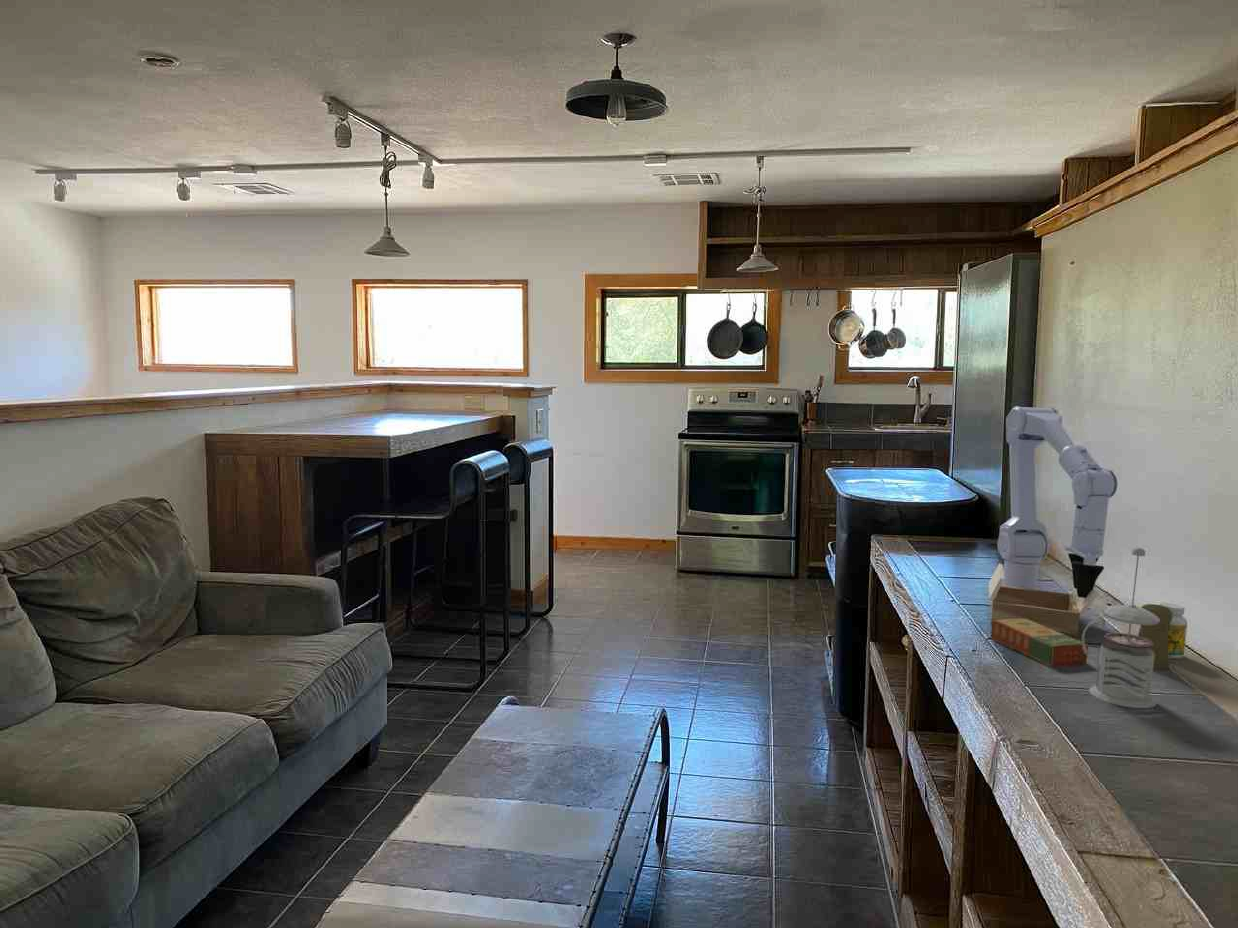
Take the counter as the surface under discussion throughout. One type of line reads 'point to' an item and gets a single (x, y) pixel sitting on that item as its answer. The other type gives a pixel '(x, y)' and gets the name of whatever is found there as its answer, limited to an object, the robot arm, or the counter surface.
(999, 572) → the flap
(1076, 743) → the counter surface
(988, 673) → the counter surface
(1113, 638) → the french press
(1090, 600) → the flap
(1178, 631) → the supplement bottle
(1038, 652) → the carton
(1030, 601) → the kraft box
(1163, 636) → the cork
